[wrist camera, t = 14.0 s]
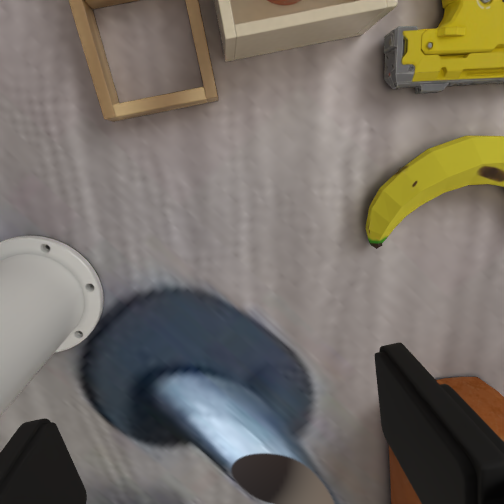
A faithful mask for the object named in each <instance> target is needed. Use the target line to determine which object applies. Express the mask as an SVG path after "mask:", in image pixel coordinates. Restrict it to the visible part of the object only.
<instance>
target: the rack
mask: <svg viewBox="0 0 504 504" xmlns="http://www.w3.org/2000/svg"><path fill="white" fill-rule="evenodd" d="M133 1H138V0H69V3H70V7H71V10H72V13H73V17H74V20H75V23H76V27H77V30H78V33H79V37H80V40H81V43H82V47H83V50H84V53H85V57H86V60H87V63H88V67H89V70H90V73H91V77H92V80H93V83H94V87H95V90H96V93H97V97H98V100H99V103H100V107H101V110H102V113H103V117H104V119H105V120H109V121H113V122H114V121H119V120H124V119H129V118H134V117H139V116H144V115H149V114H154V113H159V112H164V111H169V110H174V109H179V108H184V107H189V106H194V105H199V104H204V103H207V102H208V103H209V102H214V101H218V95H217V90H216V85H215V80H214V75H213V70H212V65H211V60H210V55H209V51H208V46H207V41H206V36H205V31H204V26H203V21H202V16H201V11H200V7H199V2H198V0H185V1H186V6H187V11H188V15H189V20H190V25H191V29H192V34H193V39H194V43H195V48H196V53H197V57H198V62H199V67H200V71H201V76H202V81H203V85H204V87H199V88H194V89H189V90H184V91H179V92H174V93H169V94H164V95H159V96H154V97H149V98H144V99H139V100H133V101H128V102H123V103H119V101H118V97H117V93H116V90H115V86H114V83H113V79H112V76H111V72H110V69H109V65H108V62H107V58H106V55H105V51H104V48H103V44H102V41H101V37H100V34H99V30H98V27H97V23H96V20H95V16H94V13H93V9H97V8H102V7H107V6H112V5H117V4H122V3H127V2H133Z"/></svg>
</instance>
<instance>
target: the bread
mask: <svg viewBox="0 0 504 504" xmlns="http://www.w3.org/2000/svg"><path fill="white" fill-rule="evenodd" d="M436 381H437V382H438V383H439V384H447V385H449V386H450V387H452V388H453V389H454V390H455V391H456V392H457V393H458V394H459V395H460V396H461V398H462V399H463V400H464V401H465V402H466V403H467V404H468V405H469V406H470V407H471V408H472V409H473V410H474V411H475V412H476V413H477V414H478V415H479V416H480V417H481V418H482V419H483V421H484V422H485V423H486V424H487V425H488V426H489V427H490V428H491V429H492V430H493V431H494V432H495V433H496V434H497V435H498V436H499V437H500V438H501V439H502V440H503V441H504V397H503V396H502V395H501V394H500V393H499V392H498V391H496V390H495V389H493V388H492V387H491V386H489V385H488V384H486V383H485V382H484V381H482V380H481V379H479V378H478V377H454V378H444V379H439V380H436ZM389 460H390V482H391V504H422V503H421V502H420V500H419V498H418V496H417V494H416V493H415V491H414V489H413V487H412V485H411V484H410V482H409V480H408V478H407V476H406V475H405V473H404V471H403V469H402V467H401V466H400V464H399V462H398V460H397V458H396V457H395V455H394V453H393V451H392V449H391V448H390V446H389Z"/></svg>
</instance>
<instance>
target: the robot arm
mask: <svg viewBox="0 0 504 504" xmlns="http://www.w3.org/2000/svg"><path fill="white" fill-rule="evenodd" d="M47 245H48V246H49V247H50V248H48V246H47ZM91 284H92V285H93V286H92V285H91ZM103 303H104V299H103V289H102V286H101V283H100V280H99V278H98V276H97V274H96V272H95V270H94V269H93V267H92V266H91V265H90V263H89V262H88V261H87V260H86V259H85V258H84V257H83V256H82V255H81V254H80V253H78V252H77V251H76V250H74V249H73V248H71V247H70V246H68V245H66V244H64V243H62V242H59V241H57V240H55V239H51V238H47V237H42V236H30V235H28V236H19V237H14V238H10V239H7V240H4V241H2V242H0V416H1V415H2V414H3V413H4V412H5V410H6V409H7V408H8V407H9V406H10V405H11V403H12V402H13V401H14V400H15V399H16V397H17V396H18V395H19V394H20V393H21V391H22V390H23V389H24V388H25V387H26V386H27V384H28V383H29V382H30V381H31V380H32V378H33V377H34V376H35V375H36V374H37V372H38V371H39V370H40V369H41V368H42V367H43V365H44V364H45V363H46V362H47V361H48V359H49V358H50V357H51V356H52V355H53V353H55V352H60V351H63V350H67V349H70V348H71V347H73V346H75V345H77V344H79V343H80V342H82V341H83V340H84V339H85V338H87V336H88V335H89V334H90V333H91V332H92V330H93V329H94V328H95V326H96V325H97V323H98V321H99V319H100V316H101V314H102V310H103ZM375 365H376V375H377V385H378V394H379V404H380V414H381V424H382V430H383V433H384V436H385V438H386V440H387V442H388V444H389V446H390V448H391V449H392V451H393V453H394V455H395V457H396V458H397V460H398V462H399V464H400V466H401V467H402V469H403V471H404V473H405V475H406V476H407V478H408V480H409V482H410V484H411V485H412V487H413V489H414V491H415V493H416V494H417V496H418V498H419V500H420V502H421V503H422V504H504V441H503V440H502V439H501V438H500V437H499V436H498V435H497V434H496V433H495V432H494V431H493V430H492V429H491V428H490V427H489V426H488V425H487V424H486V423H485V422H484V421H483V419H482V418H481V417H480V416H479V415H478V414H477V413H476V412H475V411H474V410H473V409H472V408H471V407H470V406H469V405H468V404H467V403H466V402H465V401H464V400H463V399H462V398H461V396H460V395H459V394H458V393H457V392H456V391H455V390H454V389H453V388H452V387H450V386H449V385H447V384H439V383H438V382H437V381H436V380H435V379H434V378H433V377H432V376H431V374H430V373H429V372H428V371H427V370H426V369H425V368H424V367H423V366H422V365H421V364H420V362H419V361H418V360H417V359H416V358H415V357H414V356H413V355H412V354H411V353H410V352H409V350H408V349H407V348H406V347H405V346H404V345H403V344H402V343H395V344H390V345H386V346H381V347H380V352H378V353H375ZM86 500H87V495H86V490H85V488H84V485H83V483H82V481H81V479H80V477H79V474H78V472H77V470H76V468H75V465H74V463H73V461H72V459H71V457H70V454H69V452H68V450H67V448H66V445H65V443H64V441H63V439H62V437H61V434H60V432H59V430H58V428H57V426H56V424H55V423H52V422H50V421H49V420H48V419H40V420H35V421H30V422H26V423H24V424H22V425H21V426H20V427H19V428H18V430H17V431H16V432H15V434H14V435H13V437H12V438H11V439H10V441H9V442H8V443H7V445H6V446H5V447H4V449H3V450H2V451H1V453H0V504H86Z"/></svg>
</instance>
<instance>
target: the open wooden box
mask: <svg viewBox="0 0 504 504" xmlns="http://www.w3.org/2000/svg"><path fill="white" fill-rule="evenodd" d="M214 5H215V11H216V16H217V21H218V26H219V31H220V36H221V42H222V47H223V52H224V57H225V61H226V62H227V61H232V60H238V59H243V58H248V57H253V56H258V55H263V54H268V53H273V52H278V51H283V50H288V49H293V48H298V47H303V46H308V45H313V44H318V43H323V42H328V41H333V40H338V39H343V38H349V37H354V36H359V35H363V34H364V33H365V32H366V31H367V30H369V29H370V28H371V27H372V26H373V25H375V24H376V23H377V22H378V21H379V20H381V19H382V18H383V17H384V16H385V15H387V14H388V13H389V12H390V11H391V10H393V9H394V8H395V7H396V6H397V0H301V1H300V2H298V3H295V4H292V5H277V4H274V3H271V2H269V1H267V0H214Z"/></svg>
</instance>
